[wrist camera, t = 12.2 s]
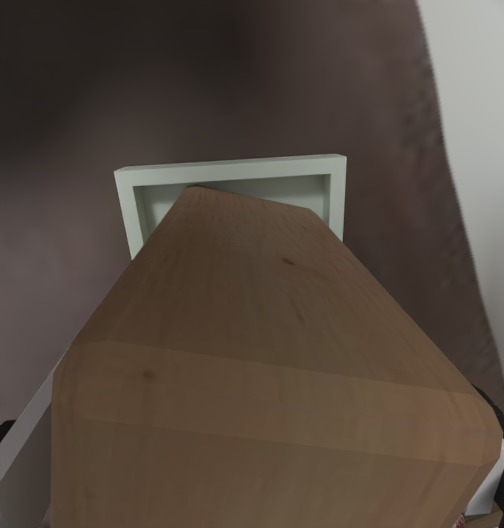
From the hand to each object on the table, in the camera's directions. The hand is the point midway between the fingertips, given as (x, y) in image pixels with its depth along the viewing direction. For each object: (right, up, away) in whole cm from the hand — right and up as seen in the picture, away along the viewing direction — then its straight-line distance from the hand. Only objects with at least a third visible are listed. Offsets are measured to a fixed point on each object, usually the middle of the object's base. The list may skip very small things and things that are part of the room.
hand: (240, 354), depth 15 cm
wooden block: (-1, +5, +11) cm, 12 cm away
